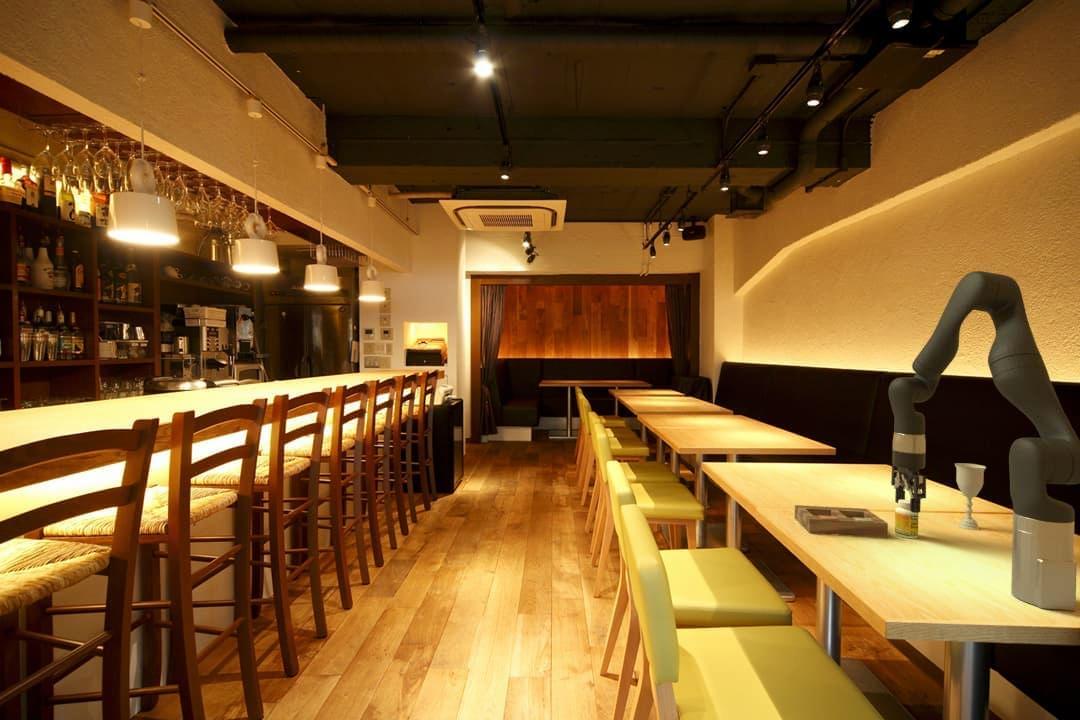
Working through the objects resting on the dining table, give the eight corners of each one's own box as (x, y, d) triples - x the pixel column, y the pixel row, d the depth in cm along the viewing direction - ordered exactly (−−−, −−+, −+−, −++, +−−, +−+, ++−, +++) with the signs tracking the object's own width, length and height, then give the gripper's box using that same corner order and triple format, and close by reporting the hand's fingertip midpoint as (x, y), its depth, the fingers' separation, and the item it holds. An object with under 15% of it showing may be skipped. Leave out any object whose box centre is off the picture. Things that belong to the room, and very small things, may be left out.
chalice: (955, 528, 157) (956, 466, 157) (950, 521, 163) (952, 462, 163) (987, 532, 154) (989, 469, 153) (981, 525, 160) (983, 464, 159)
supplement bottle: (900, 531, 154) (900, 497, 154) (921, 536, 150) (922, 502, 149) (891, 534, 151) (891, 500, 151) (912, 540, 147) (913, 505, 146)
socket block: (887, 537, 148) (887, 522, 148) (809, 533, 152) (809, 517, 152) (865, 522, 162) (866, 507, 162) (794, 518, 166) (794, 504, 165)
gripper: (938, 455, 142) (936, 516, 143) (911, 445, 156) (909, 501, 157) (906, 454, 144) (904, 514, 144) (882, 444, 158) (881, 499, 158)
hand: (907, 507), depth 150 cm, fingers open, 8 cm apart
